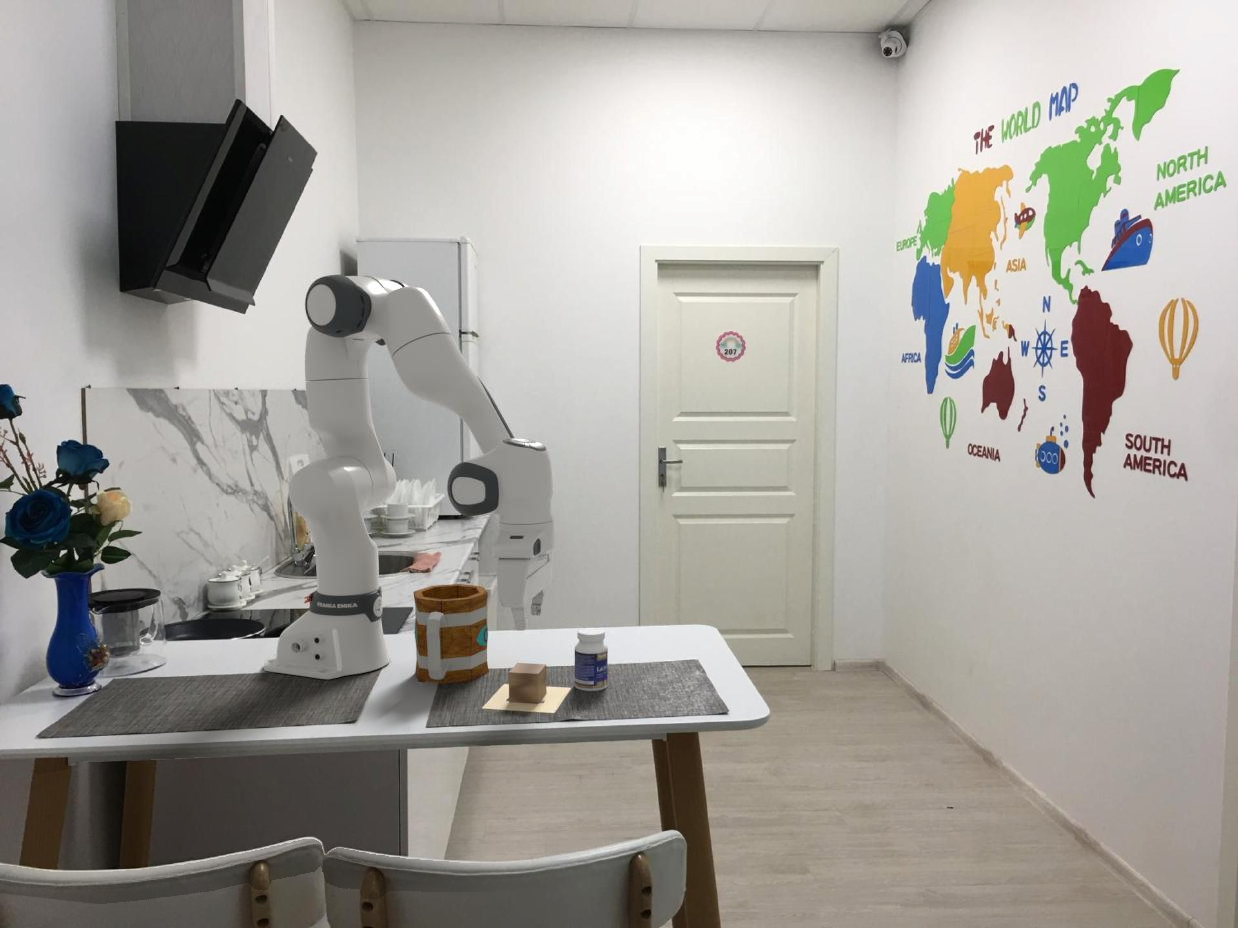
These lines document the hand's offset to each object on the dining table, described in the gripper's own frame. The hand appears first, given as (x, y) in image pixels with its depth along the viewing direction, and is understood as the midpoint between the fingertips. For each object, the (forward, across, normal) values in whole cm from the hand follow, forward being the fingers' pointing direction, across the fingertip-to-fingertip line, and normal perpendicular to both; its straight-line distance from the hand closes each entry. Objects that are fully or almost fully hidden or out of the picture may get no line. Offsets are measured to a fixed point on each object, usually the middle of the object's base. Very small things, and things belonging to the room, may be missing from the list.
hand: (529, 621), depth 148 cm
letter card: (+13, 0, -1) cm, 13 cm away
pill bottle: (+14, -8, +8) cm, 18 cm away
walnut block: (+13, 0, -1) cm, 13 cm away
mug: (+13, -8, -18) cm, 24 cm away
